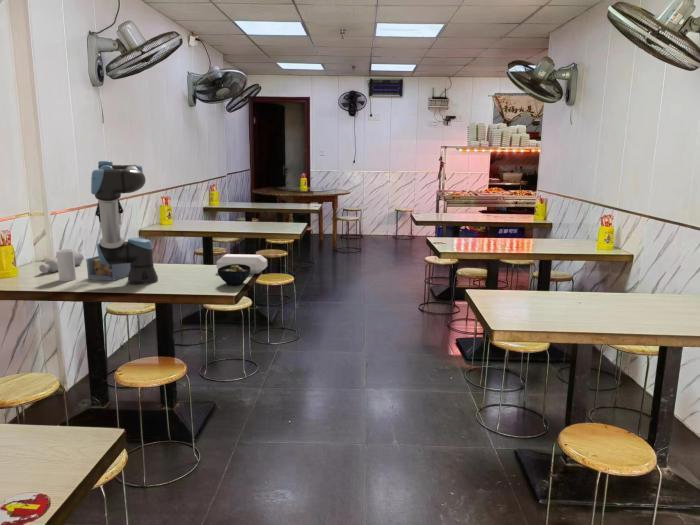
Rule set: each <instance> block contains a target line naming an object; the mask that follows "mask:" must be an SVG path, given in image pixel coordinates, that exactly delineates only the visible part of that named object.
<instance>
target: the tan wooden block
mask: <svg viewBox="0 0 700 525" xmlns="http://www.w3.org/2000/svg"><path fill="white" fill-rule="evenodd" d="M93 262H94V273H95V275H102V276H109V272H111V269H109V266H108V265H103V264H101V262H100V259H96V260H93Z"/></svg>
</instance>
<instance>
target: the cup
mask: <svg viewBox="0 0 700 525" xmlns="http://www.w3.org/2000/svg"><path fill="white" fill-rule="evenodd" d="M73 251H74V249H71V248H70V249H66V248H65V249H59V250H56V252H55V254H56V257H57V263H58V270H57V271H58V280H59V281H60V282H70V281H75V280H77V275H76V274H77V272H76V266H75V262H74V252H73Z"/></svg>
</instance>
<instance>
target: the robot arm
mask: <svg viewBox="0 0 700 525" xmlns="http://www.w3.org/2000/svg"><path fill="white" fill-rule="evenodd" d="M97 165H98V166H97V167H98V168H97V169H94V170H92V172H91V178H90V179H91V182H90V193H91V194H92V195H94V198H95V199H96V200H97V201H98V202H97V207H96V210H95V213H94V214H95V216H96V217H98V221H99V228H100V229H101V239H100V240H99V242H98V243H96V250H97V256H99V259H100V262H101V264H103V265H114V264H127V263H130V272H129V275H128V278H127V283H128V284H130V285H148V284H153V283H156V282H158V281H159V276H158V274H157V271H156V269H155V265H154V256H153V243H152V240H150V239H147V238H139V237H130V238H128V239H127V241H125V240H124V238H123V237H122V236H121V226H122V214H123V212H124V209H123V206H122V204H121V202H120V200H119V199H120V198H121V195H122V194H131V193H135V192H138V191H139V190H141V189H142V188H144V186H145V184H146V182H147V179H146V176H145V174H144V172H143V171H144V170H143V166H142V165H141V164H129V165H128V164H113V161H111V160H100V161H98V163H97Z"/></svg>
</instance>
